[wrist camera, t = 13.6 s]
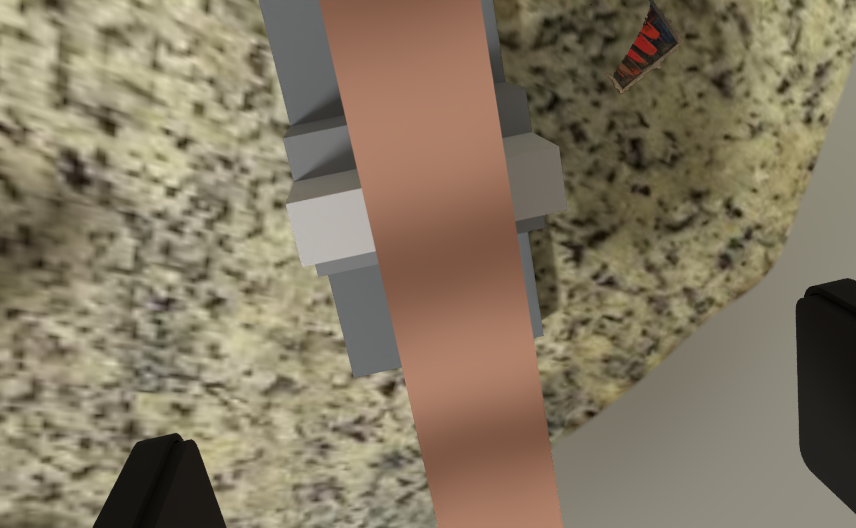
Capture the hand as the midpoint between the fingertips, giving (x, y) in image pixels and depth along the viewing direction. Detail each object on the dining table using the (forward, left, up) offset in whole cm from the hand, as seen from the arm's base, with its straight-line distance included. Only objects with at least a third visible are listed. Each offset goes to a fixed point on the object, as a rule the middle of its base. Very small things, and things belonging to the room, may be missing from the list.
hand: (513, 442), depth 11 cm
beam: (0, 0, -16) cm, 16 cm away
